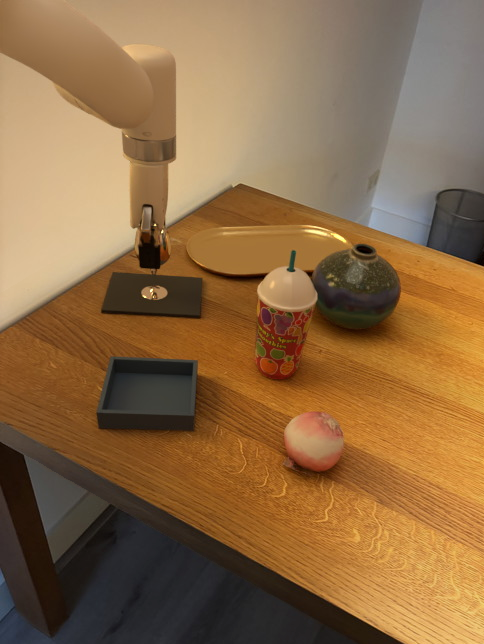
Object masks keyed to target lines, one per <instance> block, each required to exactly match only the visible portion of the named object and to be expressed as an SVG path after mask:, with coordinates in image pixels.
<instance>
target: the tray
mask: <svg viewBox="0 0 484 644" xmlns="http://www.w3.org/2000/svg"><path fill="white" fill-rule="evenodd" d="M198 362H199V360H198V359H184V358H183V359H180V358H157V357H139V356H137V357H136V356H114V355H113V356H112V355H111V356H110V357H109V361H108V365H107V370H106V373H105V377H104V381H103V384H102V389H101V392H100V395H99V401H98V403H97V404H98V405H97V408H96V420H97V426H98V429H109V430H110V429H112V430H147V431H148V430H149V431H150V430H151V431H152V430H154V431H184V432H185V431H188V432H194V431H195V420H196V419H195V418H196V403H197V389H198V387H197V386H198V368H199V367H198V366H199V363H198Z"/></svg>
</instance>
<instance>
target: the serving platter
mask: <svg viewBox="0 0 484 644" xmlns="http://www.w3.org/2000/svg"><path fill="white" fill-rule="evenodd" d="M353 246H354V244H353V243H352V242H351V241H350V240H349V239H348V238H346V237H345V236H343V235H342V234H340V233H338V232H335V231H333V230H330V229H328V228H324V227H320V226H317V225H316V226H314V225H308V224H279V225H277V224H275V225H248V226H245V225H244V226H243V225H242V226H222V227H211V228H207V229H203V230H201V231H198V232H196V233H195V234H193V235H191V236H190V237H189V238H188V240H187V242H186V245H185V249H186V254H187V255H188V257H189V258H190V260H191V261H192V262H194V263H195V264H196V265H197V266H198V267H200V268H201V269H204V270H206V271H208V272H210V273H213V274H216V275H219V276H225V277H229V278H230V277H232V278H250V277H266V276H267V275H268V274H269V273H270V272H271V271H273V270H274V269H276V268H278V267H282V266H289V263H290V256H291V251H292V250H295V251H296V256H295V263H294V267H296V268H299V269H301V270H302V271H304V272H305V273H306V274H313V272H314V270H315V268H316V266H317V265H318V264H319V262H320V261H321V260H322V259H324V258H325V257H326V256H328V255H330V254H332V253H334V252H337V251H340V250H345V249H352V247H353Z"/></svg>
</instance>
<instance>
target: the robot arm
mask: <svg viewBox="0 0 484 644" xmlns="http://www.w3.org/2000/svg"><path fill="white" fill-rule="evenodd" d="M0 54H3V55H5V56H6V57H9V58H11V59H12V60H15V61H16V62H18V63H19V64H22V65H24V66H26V67H28V68H30V69H31V70H33V71H34V72H37V73H38V74H40V75H41V76H43V77H45V78H46V79H47V80H49V81H51V82H52V84H53V86H54V88H55V90H56V91H57V93H58V94H59V96H61V97H62V98H63V99H64V100H65V101H66V102H67V103H68V104H70V105H72V106H73V107H75V108H77V109H79V110H81V111H83V112H85V113H86V114H88V115H91V116H93V117H95V118H97V119H98V120H100V121H102V122H104V123H106V124H107V125H108V126H111V127H113V128H116V129H119V130H121V142H122V143H121V144H122V156H123V157H124V159H126V160H127V161H129V175H128V177H129V179H128V181H129V183H128V184H129V185H128V186H129V189H128V191H129V225H130V227H131V229H133V230H135V229H137V228H138V226H139V225H140V226H139V227H140V230H139V244H138V248H139V260H138V264H139V265H138V266H139V268H140V269H146V270H151V269H157V270H160V269H161V266H162V265H161V260H160V245H158V237H159V230H161V229H162V228H163V226H164V225H165V226H166V217H167V210H168V200H169V164H171V163H173V162H175V161H176V159H177V63H176V59H175V56H174V55H173V53H172V52H171V51H170V50H169V49H166V48H164V47H162V46H159V45H153V44H146V43H130V44H126V45H124V46H120V44H118V43H117V42H116V41H115V40H114V39H113V38H112V37H111V36H109V34H108V33H106V31H104V30H102V29H101V28H100V27H99V26H98V25H97V24H96V23H94V22H93V21H92V20H90V18H88V17H87V16H85V15H84V14H83V13H82V12H80V11H79V10H78V9H77V8H76V7H74V6H73V5H72V4H70V3H69V2H68V1H66V0H0ZM151 223H156V226H152V225H151ZM166 227H167V226H166ZM151 231H155V232H154V237H153V235H151Z"/></svg>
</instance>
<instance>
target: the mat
mask: <svg viewBox="0 0 484 644" xmlns="http://www.w3.org/2000/svg"><path fill="white" fill-rule="evenodd" d="M203 280H204V279H203V277H198V276H183V275H179V276H178V275H167V274H156V277H155V281H156V286H161V287H163V288H165V289H166V290H167V292H168V294H167V296H166V297H165V298H163V299H160V300H150V299H146V298H145V297H143V296H142V294H141V291H142V290H143V289H144V288H145V287H147V286H153V277H152V273H150V274H149V273H137V272H136V273H134V272H133V273H132V272H121V271H112V273H111V276H110V280H109V283H108V286H107V289H106V293H105V296H104V299H103V302H102V306H101V309H100V311H101V313H102V314H116V315H117V314H119V315H137V316H155V317H174V318H190V319H191V318H192V319H201V310H202V294H203Z"/></svg>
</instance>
